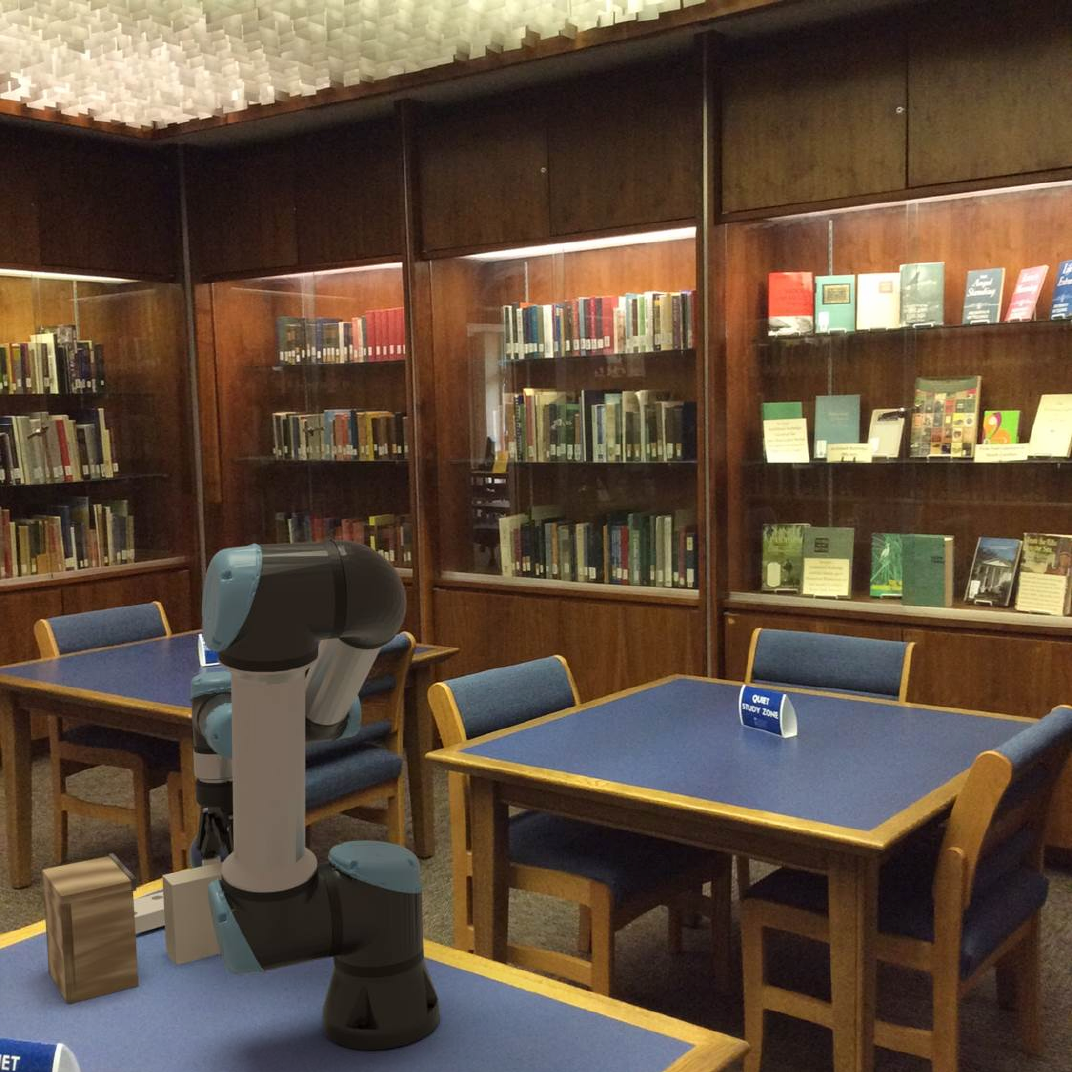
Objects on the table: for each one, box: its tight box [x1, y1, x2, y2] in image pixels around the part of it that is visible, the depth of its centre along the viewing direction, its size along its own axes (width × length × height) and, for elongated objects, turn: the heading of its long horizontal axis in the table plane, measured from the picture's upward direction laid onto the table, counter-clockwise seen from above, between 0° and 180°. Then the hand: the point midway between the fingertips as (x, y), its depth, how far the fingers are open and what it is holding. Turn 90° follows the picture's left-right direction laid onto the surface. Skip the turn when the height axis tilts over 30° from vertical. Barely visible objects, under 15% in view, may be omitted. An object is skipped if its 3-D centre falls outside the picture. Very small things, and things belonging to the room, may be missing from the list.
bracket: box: [134, 891, 165, 935], centre depth 193 cm, size 13×7×8 cm, turn 131°
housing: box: [41, 852, 139, 1005], centre depth 175 cm, size 13×10×16 cm
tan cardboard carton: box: [161, 862, 223, 966], centre depth 184 cm, size 5×10×12 cm, turn 123°
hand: (227, 913), depth 186 cm, fingers open, 13 cm apart
